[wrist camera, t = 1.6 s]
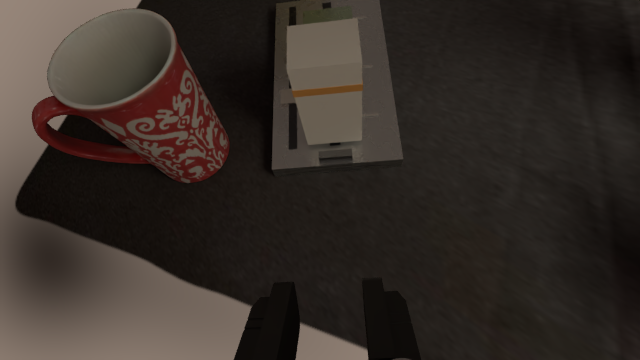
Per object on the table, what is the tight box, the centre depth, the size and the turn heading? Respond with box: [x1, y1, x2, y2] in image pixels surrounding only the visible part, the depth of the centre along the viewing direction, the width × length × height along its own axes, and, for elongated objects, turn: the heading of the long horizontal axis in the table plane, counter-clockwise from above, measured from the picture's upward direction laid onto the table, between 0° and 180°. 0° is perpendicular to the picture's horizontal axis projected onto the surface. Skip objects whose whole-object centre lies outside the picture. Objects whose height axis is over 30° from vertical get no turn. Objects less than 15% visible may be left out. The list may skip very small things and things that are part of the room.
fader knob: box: [287, 18, 363, 145], centre depth 28 cm, size 5×4×10 cm
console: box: [272, 0, 403, 176], centre depth 36 cm, size 12×22×2 cm, turn 2°
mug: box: [32, 9, 229, 183], centre depth 29 cm, size 13×9×14 cm
